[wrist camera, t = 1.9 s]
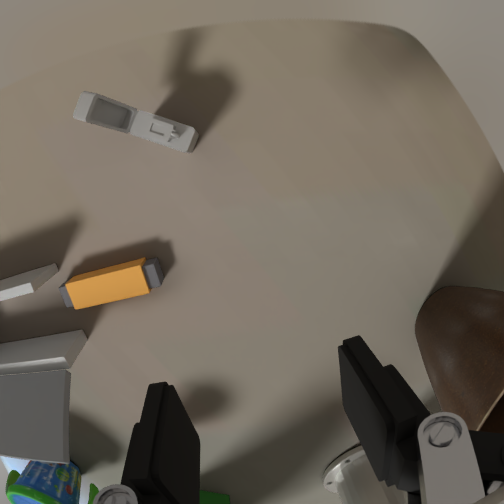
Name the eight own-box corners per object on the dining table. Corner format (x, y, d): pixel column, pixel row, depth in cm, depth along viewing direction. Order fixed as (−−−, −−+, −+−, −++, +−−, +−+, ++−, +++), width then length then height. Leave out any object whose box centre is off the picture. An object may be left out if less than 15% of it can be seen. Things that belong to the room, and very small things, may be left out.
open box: (55, 263, 25) (30, 282, 21) (87, 340, 28) (70, 368, 23) (-33, 291, 25) (-57, 308, 20) (-4, 353, 27) (-23, 376, 23)
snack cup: (93, 449, 32) (75, 509, 22) (116, 490, 35) (106, 543, 25) (5, 431, 31) (-21, 478, 21) (33, 473, 34) (16, 517, 24)
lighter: (199, 133, 24) (191, 122, 16) (191, 154, 24) (179, 152, 16) (118, 106, 22) (78, 88, 15) (110, 127, 23) (67, 116, 15)
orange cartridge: (156, 254, 26) (151, 262, 24) (164, 281, 27) (161, 290, 25) (65, 278, 26) (56, 286, 24) (74, 302, 26) (66, 311, 25)
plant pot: (499, 300, 32) (585, 360, 16) (424, 389, 34) (490, 475, 19) (453, 223, 28) (578, 277, 13) (358, 336, 30) (440, 453, 15)
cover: (63, 462, 17) (73, 465, 18) (65, 369, 22) (74, 375, 23) (-35, 447, 16) (-26, 451, 17) (-28, 377, 22) (-20, 382, 23)
